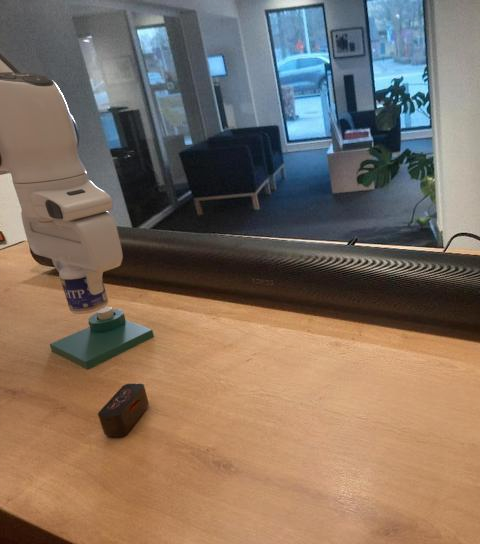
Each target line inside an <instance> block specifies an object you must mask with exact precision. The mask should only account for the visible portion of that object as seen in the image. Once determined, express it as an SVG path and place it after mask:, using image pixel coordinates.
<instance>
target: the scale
mask: <svg viewBox="0 0 480 544" xmlns="http://www.w3.org/2000/svg"><path fill="white" fill-rule="evenodd" d="M112 309H113V313H114V317H112V318H109V319H106V320H99V319H98V316H97V313H93V314H92V315H90V317H88V321H87V323H88V325H89V326H88V327H86V328H83V329H81V330H79V331H76V332H73V333H71V334H69V335H67V336H64V337H63V338H60V339H58V340H55V341H53V342H51V343H49V347H50V350H51V352H52V353H54V354H56V355H58V356H60V357H62V358H64V359H66V360H67V361H70V362H72V363H74V364H76V365H78V366H79V367H82V368H84V369H86V370H90V369H92V368H94V367H96V366H98V365H101V364H103V363H105V362H106V361H108V360H110V359H112V358H115V357H116V356H119V355H120V354H122V353H125V352H126V351H128V350H131V349H133V348H134V347H137V346H138V345H140V344H142V343H144V342H147V341H149V340H150V339H153V338H154V337H155V334H154V330H153V329H152V328H149V327H146V326H143V325H141V324H138V323H136V322H133V321H130V320H127V319H126V316H125V311H124V310H123V309H119V308H112Z"/></svg>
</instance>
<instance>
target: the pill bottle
mask: <svg viewBox="0 0 480 544" xmlns="http://www.w3.org/2000/svg"><path fill="white" fill-rule="evenodd" d="M59 259H60V262H61V265H63V266H64V267H63V268H62V269H61V270H60V272H58V275H59V276H58V277H59V279H60V280H59V281H60V284H61V286H62V289H63V293H64V295H65V299H66V302H67V305H68V308H69V311H70V313H72V314H74V315H85V314H86V315H87V314H92V313H95V312H96V311H98V310H100V309H102V308H104V307H107V306H108V304H109V297H108V294H107V291H106V288H105V284H104V281H103V279H102V280H101V281H102V284H103V288H104V290H103V292H101V293H99V294H96V295H93V294H90V293H88V292H87V291H86V287H85V284H84V283H85V282H87V279H86V274H84V272H83V269H82V268H81V267H78V266H74V265H71V264H67V263H66V262H65V261H64V260H63V258H62V257H60V256H59Z"/></svg>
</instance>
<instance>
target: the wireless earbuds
mask: <svg viewBox="0 0 480 544" xmlns="http://www.w3.org/2000/svg"><path fill="white" fill-rule="evenodd" d="M149 403H150V402H149V399H148V395H147V391H146V387H145V384H144V383H137V382H136V383H126V384H125V383H124V385H122V386H121V387H120V388H119V390H118V391H116V393H115V394H114V395H113V396H112V397H111V398H110V399H109V400H108V401H107V402H106V403H105V404H104V406H103V407H102V408H101V409H100V410H99V411H98V413H97V416H98V419H99V423H100V426H101V429H102V432H103V434H104V436H106V437H124V436H125V435H127V433H128V432H129V431H130V430H131V428H132V427H133V426H134V425H135V423H136V422H137V420H139V418H140V417H141V416H142V414H143V413H144V412H145V410H146V409H147V408H148V407H149Z"/></svg>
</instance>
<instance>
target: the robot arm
mask: <svg viewBox="0 0 480 544" xmlns="http://www.w3.org/2000/svg"><path fill="white" fill-rule="evenodd" d="M79 143H80V132H79V127H78V124H77V122H76V120H75V119H74V116H73V115H72V114H71V112H70V109H69V106H68V104H67V101H66V99H65V97H64V95H63V93H62V91H61V90H60V87H59V86H58V85H57V83H56V82H55V81H54V80H53V79H51V78H48V77H47V76H44V75H41V74H37V73H36V74H35V73H29V72H23V73H22V72H20V71H19V70H18V69H17V68H16V67H15V66H14V65H13V64H12V63H11V62H10V61H9V60H8V59H7V58H6V57H5V56H4V55H3V54H2V53H0V176H2V175H3V176H4V175H8V174H10V175H11V180H12V184H13V187H14V191H15V193H16V197H17V199H18V203H19V205H20V208H21V213H20V215H21V216H20V217H21V223H22V225H23V230H24V234H25V238H26V241H27V244H28V247H29V248H30V250H31V251H32V253H33V254H34V255H37V256H40V257H44V258H47V259H51V262H52V265H53V266H54V267H55V270H56V271H57V272H58V273H59V272H60V270H61V269H62V268H63V267H64V266H63V265H61V262H60V259H59V256H60V257H62V258H63V260H64V261H65V262H66V263H67V264H71V265H74V266H78V267H81V268H82V269H83V272H84V274H86V279H87V282H85V283H84V284H85V287H86V291H87V292H88V293H90V294H93V295H96V294H99V293H101V292H103V290H104V288H103V284H102V281H101V280H103V274H104V272H107V271H110V270H113V269H116V268H118V267H120V266H121V265H122V263H123V259H124V255H123V249H122V244H121V240H120V239H121V238H120V235H119V231H118V227H117V224H116V221H115V218H114V216H112V214H111V213H110V211H112V210H113V209H114V203H113V199H112V197H111V196H110V194H108V193H107V192H106V191H104V190H102V189H101V188H99V187H97V186H96V184H95V183H94V182H92V181H91V180H89V179H90V178H89V177H88V173H87V169H86V166H85V165H84V164H83V162H82V160H81V158H80V155H79Z"/></svg>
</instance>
